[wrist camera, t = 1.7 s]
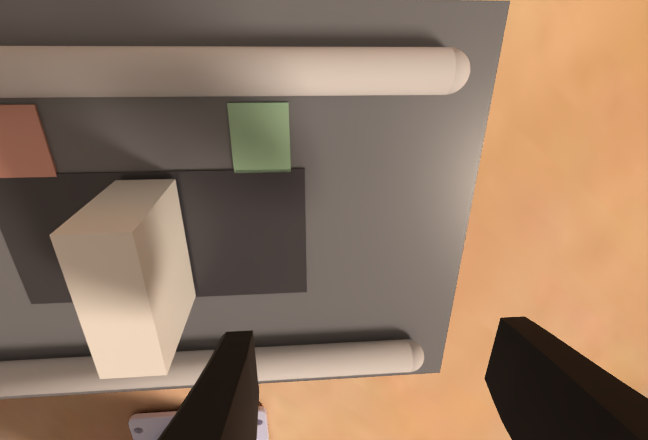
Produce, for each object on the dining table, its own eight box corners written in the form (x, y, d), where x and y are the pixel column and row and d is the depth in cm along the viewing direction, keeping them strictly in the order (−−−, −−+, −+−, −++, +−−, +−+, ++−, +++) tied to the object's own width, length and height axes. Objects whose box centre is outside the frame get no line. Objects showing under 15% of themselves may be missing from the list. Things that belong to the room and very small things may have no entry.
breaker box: (421, 330, 22) (440, 374, 19) (-30, 354, 20) (-83, 406, 17) (469, 7, 15) (511, 0, 12) (-221, 0, 13) (-362, -10, 10)
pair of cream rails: (416, 354, 18) (426, 378, 17) (-63, 381, 17) (-92, 409, 15) (462, 46, 12) (482, 48, 11) (-270, 44, 11) (-343, 45, 10)
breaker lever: (195, 296, 15) (166, 375, 12) (144, 298, 15) (99, 379, 12) (175, 179, 13) (132, 232, 10) (115, 180, 13) (49, 235, 9)
